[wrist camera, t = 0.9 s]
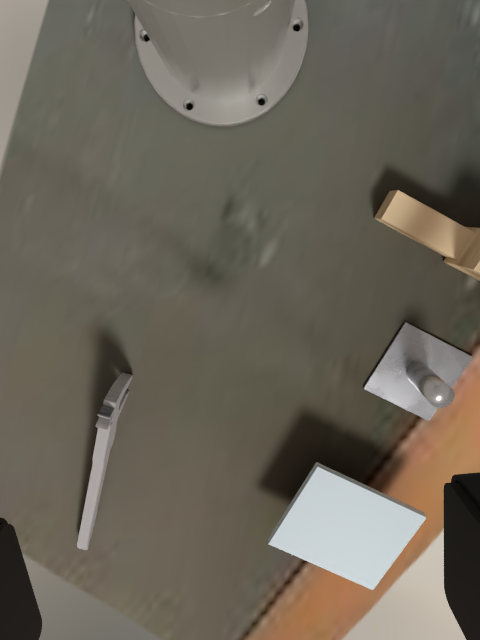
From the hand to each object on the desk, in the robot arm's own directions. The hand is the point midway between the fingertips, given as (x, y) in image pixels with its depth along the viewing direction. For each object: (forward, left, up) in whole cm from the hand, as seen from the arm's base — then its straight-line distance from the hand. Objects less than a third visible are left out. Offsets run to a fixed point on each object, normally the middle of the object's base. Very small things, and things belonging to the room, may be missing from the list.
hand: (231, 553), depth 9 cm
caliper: (+21, -4, -29) cm, 36 cm away
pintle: (-1, +17, -28) cm, 33 cm away
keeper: (+14, +18, -28) cm, 36 cm away
